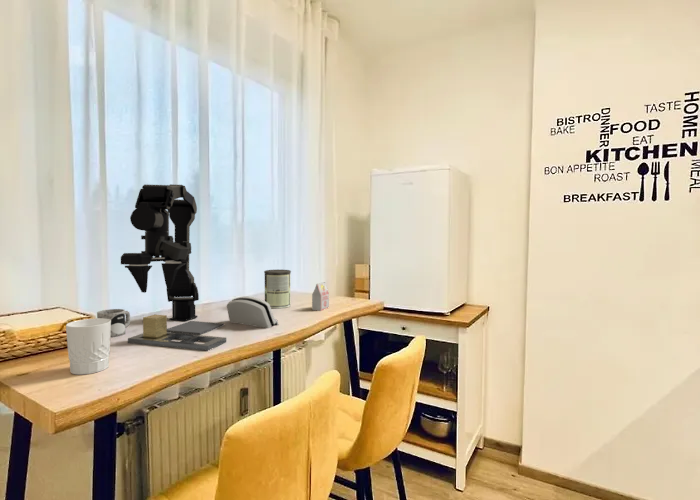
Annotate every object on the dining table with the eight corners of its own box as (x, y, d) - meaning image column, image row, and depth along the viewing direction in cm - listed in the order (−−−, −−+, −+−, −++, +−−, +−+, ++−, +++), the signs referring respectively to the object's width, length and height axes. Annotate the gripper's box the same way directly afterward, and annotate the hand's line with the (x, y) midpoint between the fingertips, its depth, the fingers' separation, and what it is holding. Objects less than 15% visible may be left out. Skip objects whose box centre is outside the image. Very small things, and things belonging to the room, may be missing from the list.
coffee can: (259, 305, 154) (259, 270, 153) (281, 302, 161) (281, 268, 160) (273, 309, 146) (273, 272, 146) (295, 306, 154) (296, 270, 153)
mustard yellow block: (143, 341, 103) (143, 317, 102) (154, 337, 107) (154, 314, 106) (156, 343, 102) (155, 318, 101) (166, 339, 105) (166, 315, 105)
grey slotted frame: (127, 342, 101) (127, 338, 101) (151, 335, 109) (150, 330, 109) (207, 350, 95) (207, 346, 95) (226, 342, 103) (226, 337, 103)
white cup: (81, 363, 86) (80, 318, 85) (119, 362, 86) (118, 318, 86) (57, 376, 78) (56, 327, 77) (99, 375, 78) (98, 326, 78)
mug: (112, 338, 106) (111, 314, 105) (91, 337, 107) (91, 313, 107) (139, 329, 115) (138, 307, 115) (119, 328, 117) (119, 306, 116)
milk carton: (312, 310, 147) (312, 283, 146) (320, 307, 153) (320, 281, 152) (320, 311, 145) (320, 284, 145) (328, 307, 151) (329, 282, 151)
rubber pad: (164, 331, 113) (164, 329, 113) (191, 322, 124) (191, 320, 124) (199, 335, 110) (199, 332, 110) (224, 325, 121) (224, 323, 121)
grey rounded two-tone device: (279, 324, 123) (272, 296, 119) (270, 333, 119) (263, 304, 116) (240, 318, 131) (232, 292, 127) (230, 326, 127) (222, 299, 124)
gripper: (157, 230, 92) (157, 295, 93) (204, 233, 110) (204, 287, 111) (118, 230, 95) (118, 294, 95) (171, 233, 113) (171, 286, 113)
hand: (157, 290), depth 104 cm, fingers open, 9 cm apart
